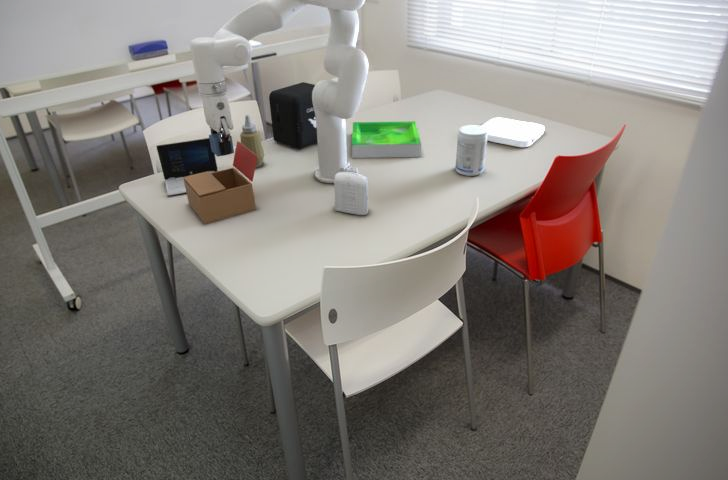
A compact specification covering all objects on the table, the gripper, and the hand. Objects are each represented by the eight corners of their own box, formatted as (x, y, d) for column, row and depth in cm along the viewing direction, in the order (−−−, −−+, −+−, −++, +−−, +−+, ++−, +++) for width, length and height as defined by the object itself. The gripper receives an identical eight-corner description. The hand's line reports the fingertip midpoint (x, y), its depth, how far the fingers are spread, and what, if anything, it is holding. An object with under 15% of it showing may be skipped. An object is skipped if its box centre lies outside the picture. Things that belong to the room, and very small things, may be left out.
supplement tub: (473, 163, 180) (478, 123, 172) (488, 174, 172) (494, 131, 164) (449, 168, 177) (453, 126, 169) (463, 178, 170) (468, 136, 162)
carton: (237, 191, 166) (233, 164, 160) (255, 209, 155) (251, 181, 150) (189, 204, 159) (182, 177, 153) (205, 224, 148) (198, 195, 143)
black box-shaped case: (298, 152, 193) (294, 99, 182) (273, 143, 201) (267, 92, 190) (335, 137, 205) (333, 86, 194) (309, 130, 213) (306, 80, 202)
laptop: (167, 197, 163) (158, 158, 156) (165, 182, 173) (155, 145, 166) (224, 187, 168) (217, 149, 161) (218, 173, 178) (211, 137, 171)
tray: (420, 156, 186) (421, 143, 184) (352, 157, 187) (351, 144, 184) (414, 133, 207) (415, 121, 204) (353, 134, 208) (353, 122, 205)
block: (227, 147, 151) (225, 131, 148) (234, 153, 147) (231, 136, 145) (211, 151, 149) (208, 134, 146) (217, 156, 145) (214, 139, 142)
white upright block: (370, 210, 153) (370, 172, 146) (365, 217, 149) (365, 178, 142) (338, 205, 156) (337, 167, 149) (333, 211, 153) (331, 173, 146)
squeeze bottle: (260, 170, 180) (254, 119, 169) (239, 168, 181) (231, 118, 171) (268, 161, 186) (262, 112, 176) (247, 160, 188) (240, 111, 177)
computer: (493, 122, 216) (494, 116, 214) (545, 132, 205) (547, 125, 203) (471, 138, 201) (472, 131, 200) (526, 149, 190) (527, 142, 189)
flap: (232, 165, 160) (233, 165, 160) (251, 181, 150) (252, 181, 150) (237, 140, 157) (238, 141, 158) (256, 155, 147) (257, 156, 147)
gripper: (237, 92, 133) (246, 157, 144) (214, 78, 145) (224, 140, 156) (209, 96, 130) (221, 163, 140) (188, 83, 142) (200, 145, 152)
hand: (222, 150), depth 148 cm, fingers closed on block, 5 cm apart
